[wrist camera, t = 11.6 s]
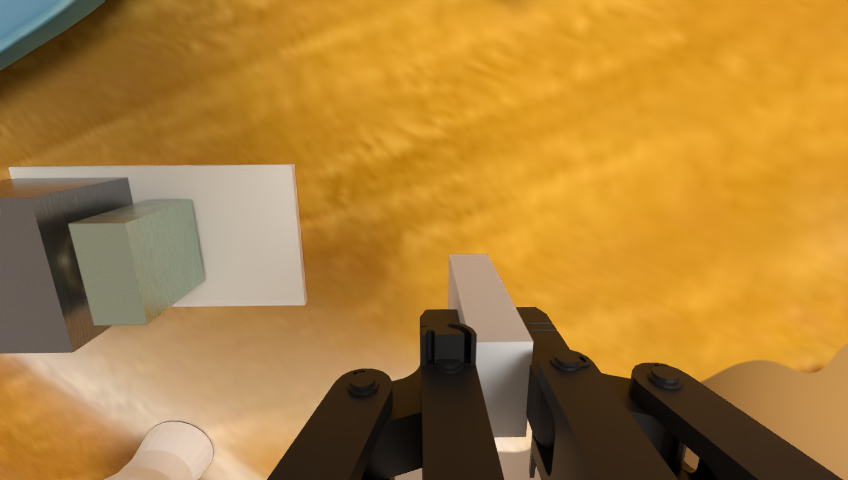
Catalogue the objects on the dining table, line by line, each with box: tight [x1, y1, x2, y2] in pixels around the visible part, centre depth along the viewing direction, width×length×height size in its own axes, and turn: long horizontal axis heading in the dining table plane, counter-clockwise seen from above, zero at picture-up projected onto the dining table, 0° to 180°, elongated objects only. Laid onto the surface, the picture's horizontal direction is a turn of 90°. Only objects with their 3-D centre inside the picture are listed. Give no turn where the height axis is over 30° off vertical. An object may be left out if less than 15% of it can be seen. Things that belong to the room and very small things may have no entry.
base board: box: [8, 164, 307, 307], centre depth 40 cm, size 26×14×1 cm, turn 90°
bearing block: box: [0, 177, 133, 353], centre depth 35 cm, size 10×12×10 cm
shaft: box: [68, 199, 205, 325], centre depth 35 cm, size 18×8×9 cm, turn 90°
